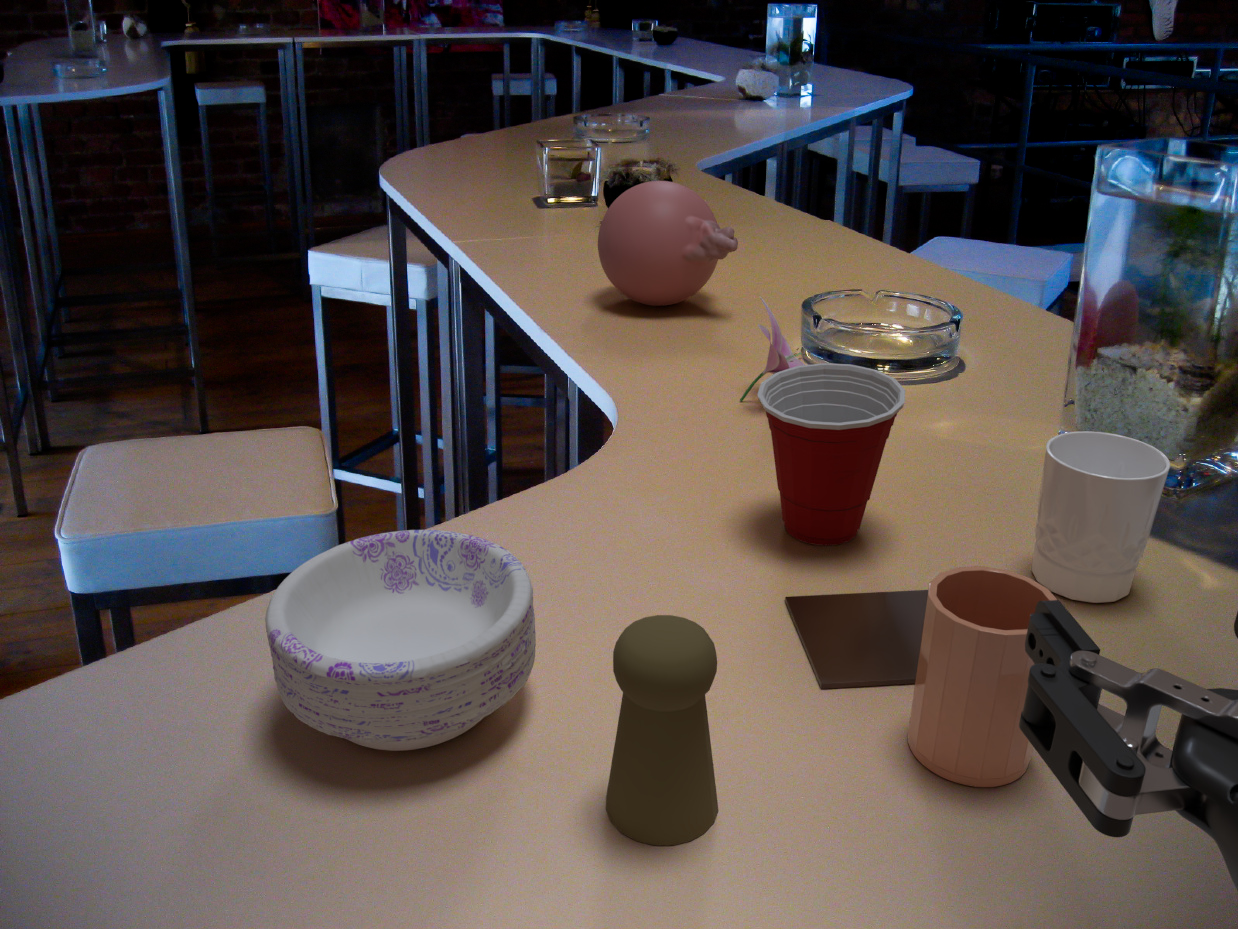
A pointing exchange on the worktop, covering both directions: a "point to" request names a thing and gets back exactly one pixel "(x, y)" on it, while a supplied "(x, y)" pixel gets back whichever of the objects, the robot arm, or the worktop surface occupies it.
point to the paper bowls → (402, 637)
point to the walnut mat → (861, 636)
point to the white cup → (1095, 513)
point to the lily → (776, 351)
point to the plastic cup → (828, 444)
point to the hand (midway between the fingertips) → (1144, 614)
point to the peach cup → (974, 676)
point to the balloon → (661, 243)
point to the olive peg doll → (663, 732)
